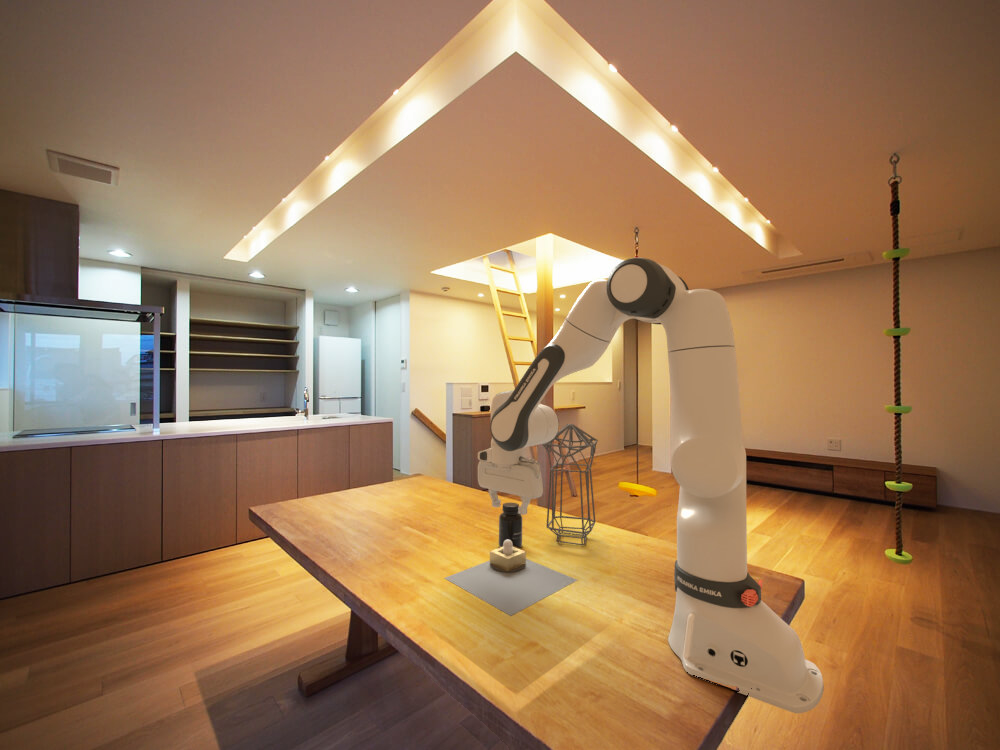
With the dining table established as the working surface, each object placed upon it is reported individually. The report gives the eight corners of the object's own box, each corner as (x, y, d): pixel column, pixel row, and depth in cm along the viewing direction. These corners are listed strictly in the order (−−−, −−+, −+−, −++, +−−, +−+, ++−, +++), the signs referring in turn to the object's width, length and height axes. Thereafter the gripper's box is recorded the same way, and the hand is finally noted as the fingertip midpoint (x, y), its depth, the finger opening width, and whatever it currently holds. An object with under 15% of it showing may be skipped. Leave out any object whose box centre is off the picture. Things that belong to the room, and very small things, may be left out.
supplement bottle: (520, 551, 116) (520, 508, 116) (496, 549, 117) (496, 507, 118) (523, 542, 123) (523, 501, 123) (501, 540, 124) (501, 500, 124)
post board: (577, 586, 96) (577, 552, 96) (510, 623, 80) (510, 583, 81) (510, 557, 111) (510, 529, 112) (444, 584, 96) (444, 551, 97)
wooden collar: (525, 563, 104) (525, 551, 104) (507, 571, 99) (507, 558, 99) (507, 556, 108) (507, 544, 108) (489, 563, 104) (489, 551, 104)
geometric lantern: (594, 552, 115) (594, 427, 116) (539, 545, 120) (539, 425, 121) (600, 533, 130) (599, 422, 131) (550, 528, 135) (550, 421, 136)
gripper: (548, 457, 99) (549, 516, 99) (490, 450, 114) (491, 500, 113) (530, 461, 95) (531, 522, 94) (473, 452, 110) (473, 505, 109)
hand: (509, 510), depth 104 cm, fingers open, 8 cm apart
